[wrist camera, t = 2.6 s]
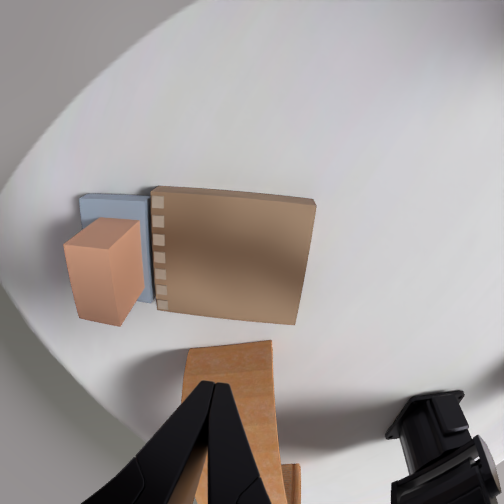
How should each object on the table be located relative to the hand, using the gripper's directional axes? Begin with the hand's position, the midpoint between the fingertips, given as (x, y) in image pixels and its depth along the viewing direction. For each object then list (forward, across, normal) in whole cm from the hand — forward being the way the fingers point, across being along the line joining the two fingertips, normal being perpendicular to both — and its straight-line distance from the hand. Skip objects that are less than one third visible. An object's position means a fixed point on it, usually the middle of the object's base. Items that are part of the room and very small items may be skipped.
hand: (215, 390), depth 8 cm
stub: (+9, +7, 0) cm, 12 cm away
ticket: (+9, +1, 0) cm, 9 cm away
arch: (+10, -2, +16) cm, 19 cm away
